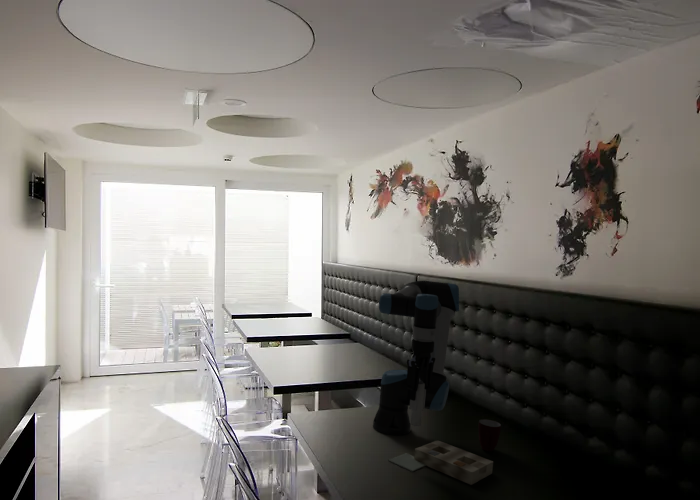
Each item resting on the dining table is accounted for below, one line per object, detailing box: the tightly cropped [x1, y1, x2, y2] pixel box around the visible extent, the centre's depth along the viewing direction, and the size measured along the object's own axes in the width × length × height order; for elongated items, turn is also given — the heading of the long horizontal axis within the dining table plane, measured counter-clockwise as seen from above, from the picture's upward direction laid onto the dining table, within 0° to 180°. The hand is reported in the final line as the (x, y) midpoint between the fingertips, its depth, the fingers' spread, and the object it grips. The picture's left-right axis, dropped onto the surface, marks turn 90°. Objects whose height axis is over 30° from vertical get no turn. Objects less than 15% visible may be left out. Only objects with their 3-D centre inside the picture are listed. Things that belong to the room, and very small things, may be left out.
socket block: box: [413, 439, 494, 486], centre depth 170 cm, size 22×14×4 cm, turn 47°
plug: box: [410, 381, 425, 427], centre depth 169 cm, size 4×4×15 cm
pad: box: [387, 452, 427, 473], centre depth 170 cm, size 10×10×1 cm
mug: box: [477, 418, 502, 453], centre depth 187 cm, size 10×8×10 cm
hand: (416, 408), depth 170 cm, fingers closed on plug, 3 cm apart
